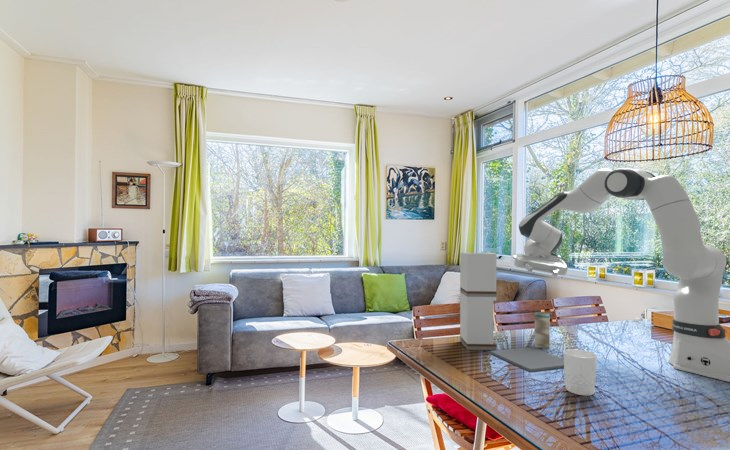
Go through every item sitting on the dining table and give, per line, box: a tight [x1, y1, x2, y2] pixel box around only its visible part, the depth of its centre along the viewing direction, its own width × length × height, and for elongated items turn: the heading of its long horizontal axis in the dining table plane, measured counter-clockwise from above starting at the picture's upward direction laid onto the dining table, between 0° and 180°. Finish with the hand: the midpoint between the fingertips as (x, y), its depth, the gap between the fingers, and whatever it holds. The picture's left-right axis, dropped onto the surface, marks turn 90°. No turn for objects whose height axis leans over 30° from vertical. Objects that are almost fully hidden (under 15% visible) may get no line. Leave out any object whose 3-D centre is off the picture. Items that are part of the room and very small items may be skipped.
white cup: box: [562, 348, 597, 396], centre depth 106 cm, size 8×8×10 cm
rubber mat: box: [489, 346, 564, 373], centre depth 133 cm, size 20×18×1 cm
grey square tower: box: [459, 251, 498, 351], centre depth 150 cm, size 11×11×35 cm
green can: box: [534, 312, 551, 349], centre depth 149 cm, size 5×5×12 cm
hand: (542, 272), depth 157 cm, fingers open, 8 cm apart
